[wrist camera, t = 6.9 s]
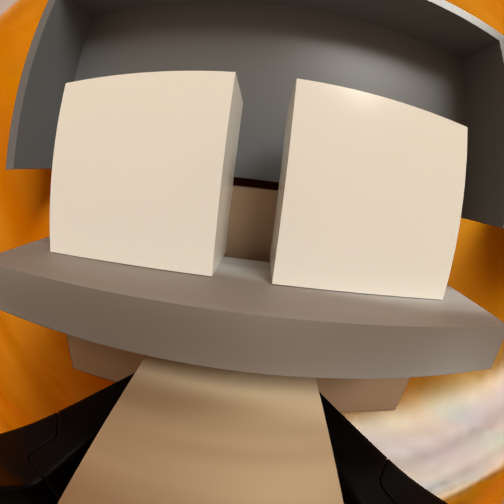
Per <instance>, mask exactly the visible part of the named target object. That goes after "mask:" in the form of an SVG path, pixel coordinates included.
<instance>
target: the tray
mask: <svg viewBox="0 0 504 504" xmlns="http://www.w3.org/2000/svg"><path fill="white" fill-rule="evenodd" d="M160 71H226V72H236V76H237V80H238V84H239V88H240V92H241V96H242V100H243V108H242V115H241V123H240V131H239V139H238V147H237V155H236V164H235V172H234V177H238V178H247V179H256V180H264V181H272V182H279V179H280V171H281V163H282V154H283V145H284V137H285V128H286V119H287V109H288V105H289V102H290V99H291V95H292V92H293V89H294V86H295V82H296V79H304V80H310V81H316V82H321V83H327V84H332V85H337V86H341V87H346V88H350V89H355V90H359V91H363V92H367V93H371V94H374V95H378V96H382V97H385V98H389V99H392V100H395V101H399V102H402V103H405V104H408V105H411V106H414V107H417V108H420V109H423V110H426V111H428V112H431V113H434V114H436V115H439V116H442V117H444V118H447V119H449V120H452V121H454V122H456V123H459V124H461V125H463V126H466V127H467V162H466V176H465V187H464V197H463V205H462V212H461V218H465V219H469V220H473V221H477V222H480V223H484V224H488V225H492V226H496V227H499V228H503V229H504V36H503V35H502V34H500V33H499V32H498V31H496V30H495V29H493V28H492V27H490V26H489V25H487V24H486V23H484V22H482V21H481V20H479V19H478V18H476V17H474V16H473V15H471V14H469V13H467V12H466V11H464V10H462V9H460V8H459V7H457V6H455V5H453V4H451V3H449V2H447V1H445V0H49V1H48V3H47V5H46V7H45V10H44V12H43V14H42V17H41V19H40V22H39V24H38V27H37V29H36V32H35V35H34V37H33V40H32V43H31V46H30V49H29V52H28V55H27V58H26V62H25V65H24V69H23V72H22V76H21V80H20V84H19V88H18V92H17V96H16V101H15V106H14V111H13V116H12V122H11V129H10V135H9V143H8V152H7V162H6V169H52V164H53V154H54V146H55V138H56V131H57V125H58V119H59V113H60V108H61V103H62V98H63V93H64V89H65V84H66V83H69V82H74V81H80V80H85V79H92V78H98V77H105V76H113V75H122V74H132V73H144V72H160Z"/></svg>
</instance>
